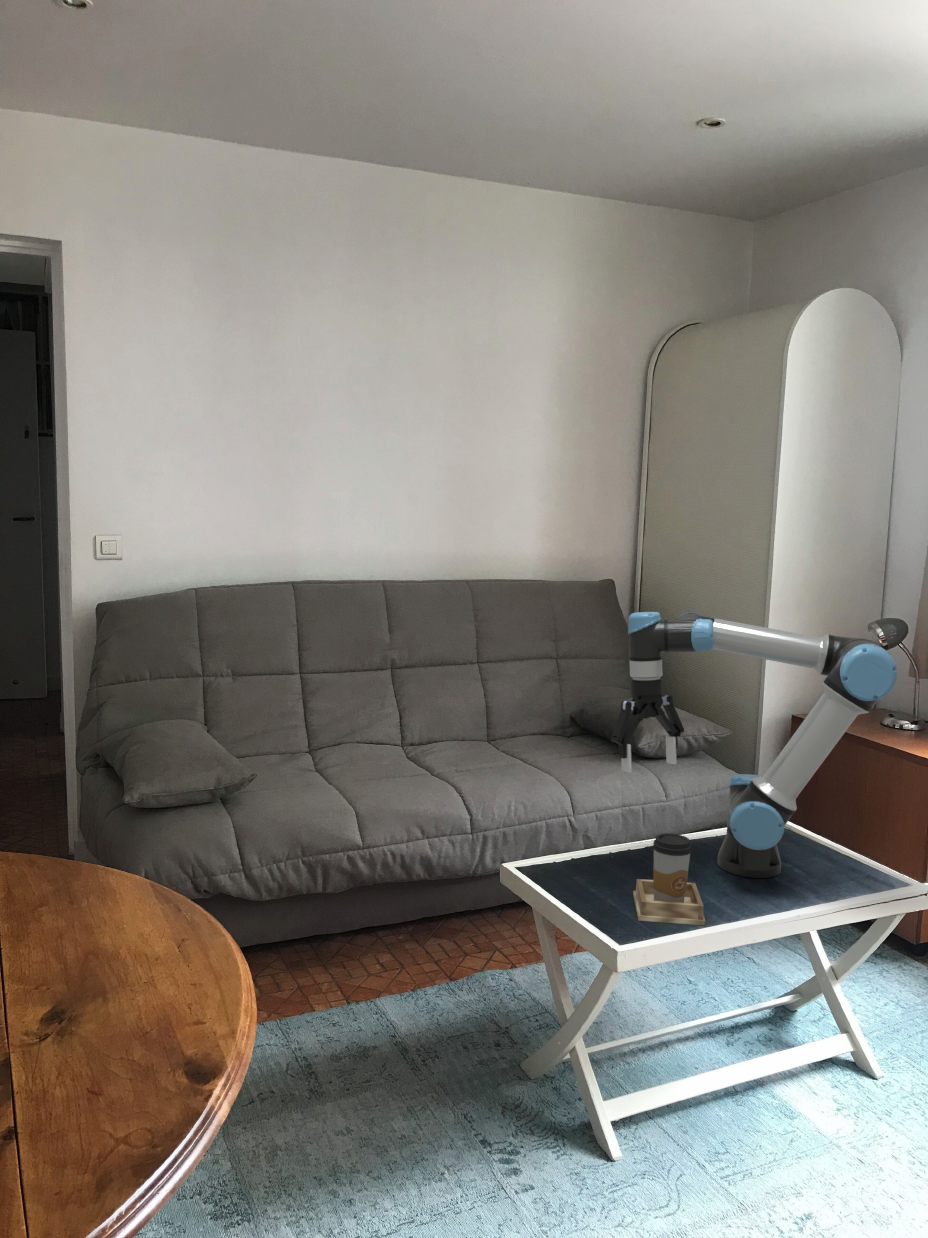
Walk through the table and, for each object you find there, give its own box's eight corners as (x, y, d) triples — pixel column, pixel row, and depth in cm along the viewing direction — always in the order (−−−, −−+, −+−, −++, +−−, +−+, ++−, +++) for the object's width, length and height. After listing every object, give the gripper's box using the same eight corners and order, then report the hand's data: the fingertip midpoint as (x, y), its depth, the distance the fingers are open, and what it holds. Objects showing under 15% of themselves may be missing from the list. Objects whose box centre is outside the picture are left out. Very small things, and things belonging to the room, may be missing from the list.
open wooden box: (695, 899, 224) (697, 882, 224) (705, 925, 210) (706, 907, 210) (633, 895, 225) (634, 878, 225) (638, 920, 212) (639, 902, 211)
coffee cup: (663, 915, 212) (667, 847, 211) (641, 900, 220) (645, 834, 218) (695, 910, 216) (700, 843, 214) (673, 895, 223) (677, 831, 222)
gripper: (675, 671, 242) (678, 757, 244) (593, 682, 230) (597, 772, 231) (697, 674, 236) (700, 762, 237) (614, 684, 224) (617, 778, 225)
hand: (649, 767), depth 234 cm, fingers open, 13 cm apart
